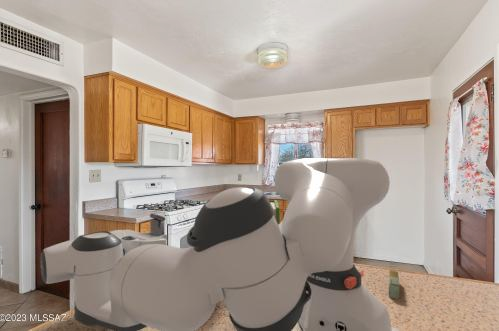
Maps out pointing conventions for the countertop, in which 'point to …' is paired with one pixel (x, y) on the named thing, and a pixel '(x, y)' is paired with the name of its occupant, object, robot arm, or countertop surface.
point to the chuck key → (156, 225)
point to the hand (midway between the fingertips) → (160, 235)
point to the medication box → (394, 284)
